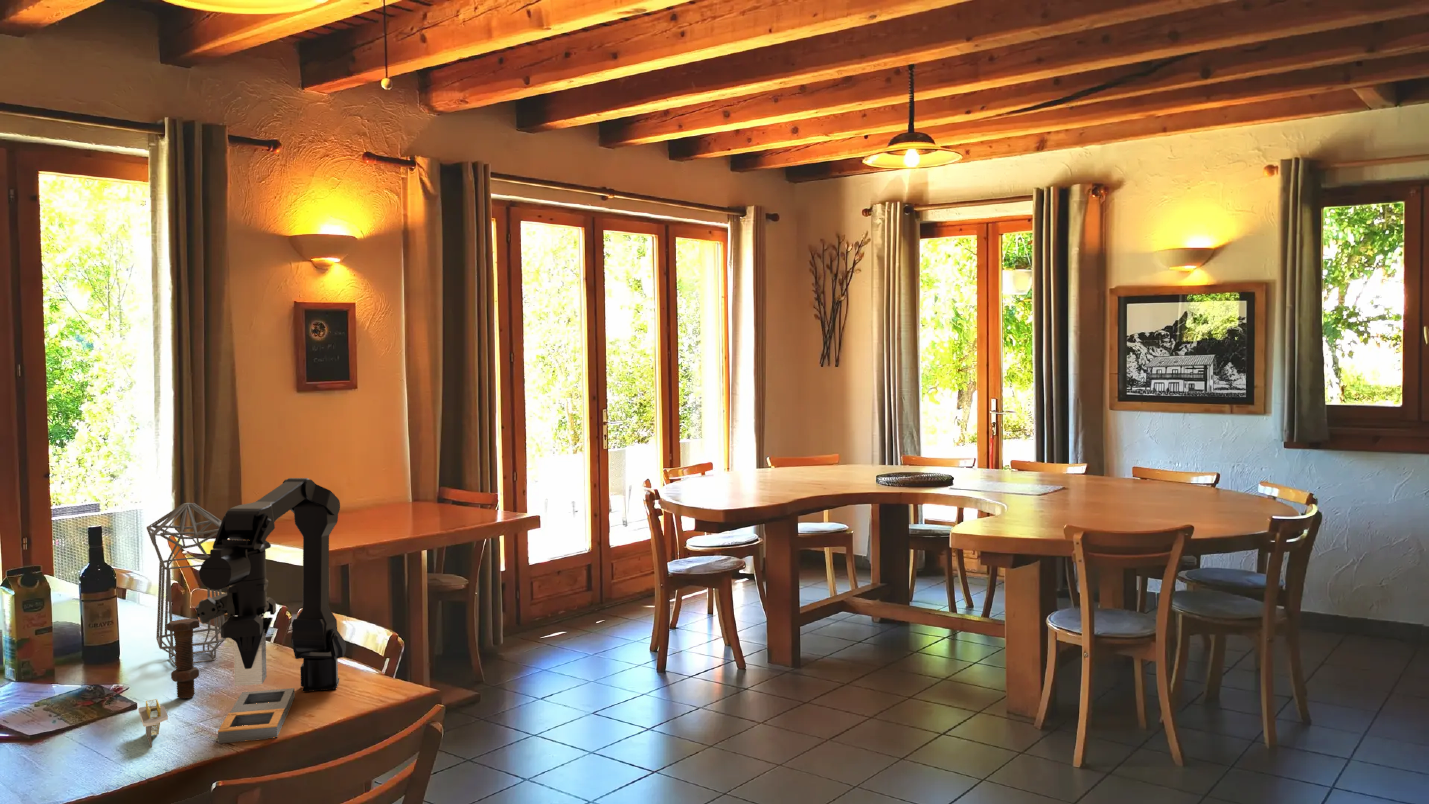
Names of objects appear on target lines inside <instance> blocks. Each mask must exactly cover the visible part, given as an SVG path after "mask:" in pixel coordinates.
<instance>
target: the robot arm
mask: <svg viewBox="0 0 1429 804" xmlns="http://www.w3.org/2000/svg"><path fill="white" fill-rule="evenodd" d="M282 481H283V482H282V484H281V483H280V484H279V486H277V487H276V488H273V489H272V490H271V491H270V492H268V493H267V494H265V495H264V496H262V497H261V498H259V499H257V500H255V501H254V502H250V503H243V504H239V505H236V506H233V507H230V508H229V509H228V510H227V511H226V512H225V513H224V516H223V517H222V520H221V521H222V522H221V525H220V528H219V527H218V529H219V530H218V533H217V535H215V539H214V542H213V544H212V549H210V553H209V554H210V555H209V556H210V557H209V558H205V560H203V562H202V563H201V564H200V565H201V566H200V569H199V571H198V572H199V573H198V574H199V575H198V576H199V580H200V581H201V583H202V584H203V585H204V586H205V587H206V589H207V588H209V589H210V590H211V589H212V590H214V591H215V590H218V591H219V589H221V590H223V589H224V588H226V589H227V590H226V592H224V593H222V594H221V595H219V594H218V596H215V597H213V598H212V596H210V597H208V598H205V599H201V600H199V602H198V604H197V605H196V606H195V612H196V613H195V617H197V618H199V621H200V622H201V624H202V625H204V624H206V623H207V624H208V622H209V621H210V622H211V620H214V618H216V617H217V618H218V617H219V616H220V617H221V615H224V616H225V615H226V617H228V618H227V619H226V620H224V623H223V625H222V624H221V634H220V639H222V638H226V639H230V640H233V642H234V641H235V642H236V643H237V646H238V648H239V651H240V655H241V658H242V661H243V664H244V667H245V669H251V668H252V666H253V663H254V660H255V657H256V654H257V652H258V649H259V646H260V643H261V640H262V638H263V635H264V633H266V635H267V634H268V632H269V629H270V627H271V623H272V622H273V617H271V615H275V614H276V613H277V602H276V600H274V599H273V598H272V597H269V596H267V595H268V594H267V590H268V589H267V588H268V587H269V579H267V561H266V559H267V557H266V556H267V554H266V550H267V549H270V548H271V547H272V545H271V543H270V542H268V541H267V538H268V537H269V536H270V534H271V533H272V532H273V531H274V530H275V528H276V526H275V522H276V521H277V520H279V518H281V517H282V516H283V515H285V514H286V513H288V512H289V511H291V512H292V513H293V515H294V517H293V518H294V525H295V526H296V528H297V530H298V531H299V532H300V534H301V536H302V539H303V541H302V544H303V545H302V610H301V611H300V612H299V614H298V616H297V617H296V618H294V619H293V620H292V622H291V630H292V631H291V637H290V638H291V639H290V641H291V642H290V643H291V645H292V650H293V655H294V659H296V660H299V659H301V660H302V659H303V660H302V661H303V662H302V663H301V666H300V687H301V690H302V691H308V692H316V691H315V690H320V691H330V690H329V689H333V690H336V688H337V689H338V686H339V684H340V683H339V682H340V677H339V664H338V663H339V662H338V659H341V658H344V657H345V654H346V651H347V642H346V641H345V639H344V638H343V636H342V635H341V633H340V632H339V630H338V620H337V618H336V617H335V615H334V613H333V612H332V610H331V609H330V606H329V592H330V591H329V589H330V588H329V586H330V585H329V582H330V581H329V579H330V576H329V574H330V572H329V571H330V562H329V561H330V535H331V533H332V531H333V530H334V528H335V527H336V525H337V524H338V520H339V513H340V510H341V501H340V499H339V498H338V497H337V496H336V495H335V493H334V492H332V491H331V490H330V489H328V488H326V487H323V486H321V485H318V484H317V483H315V481H313V480H312V479H310V478H308V477H289V478H287V479H284V480H282ZM266 613H270V617H265V615H266ZM313 690H314V691H313Z"/></svg>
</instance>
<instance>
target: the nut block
mask: <svg viewBox="0 0 1429 804" xmlns="http://www.w3.org/2000/svg"><path fill="white" fill-rule="evenodd" d="M266 636H267V634H266V633H264V635H263V638H262V640H261V643H260V646H259V649H258V652H257V654H256V657H255V660H254V663H253V666H252V668H251V669H245V667H244V664H243V661H242V658H241V655H240V651H239V648H238V646H237V643H236V642H235V641H234V640H233V661H234V662H233V665H234V666H233V667H234V668H233V669H234V670H233V672H234V674H233V675H234V687H241V686H242V687H243V686H254V685H257V686H258V685H263V683H265V680H266V679H267V644H266V643H267V642H266Z"/></svg>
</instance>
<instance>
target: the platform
mask: <svg viewBox="0 0 1429 804" xmlns="http://www.w3.org/2000/svg"><path fill="white" fill-rule="evenodd" d="M154 701H155V705H153V704H154ZM148 702H149V703H148ZM137 710H138V714H139V717H140V720H141V722H142V726H143V727H145V735H146V737H147V740H148V744H149V747H150V748H152V747H153V746H152V745H153V743H152V740H153V739H152V736H154V735H156V736H158V735H159V733H160V728H161V727H160V726H161V723H162V722H165V721H167V720H168V719H169V716H168V712H167V710H166V707H165V706H164V705H160V703H159V701H158V699H157V698H156V699H149V700H146V701H145V706H142V707H138V709H137ZM153 712H156V715H157V716H154V717H151V713H153Z"/></svg>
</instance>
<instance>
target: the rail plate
mask: <svg viewBox="0 0 1429 804" xmlns="http://www.w3.org/2000/svg"><path fill="white" fill-rule="evenodd" d="M295 697H296V695H295V687H291V688H290V687H289V688H281V689H280V688H279V689H278V688H277V689H266V690H253V691H242V692H241V693H240V695H239V696H238V699H237V700H236V701H235V703H234V705H233V707H232V709H230V712H228V713H227V715H226V717H225V718H224V720H223V722H222V723H221V725H220V727H219V728H218V730H217V743H218V744H226V743H237V742H238V741H240V742H246V741H245V740H251V741H259V740H269V739H268V738H272V739H274V738H273V737H277V736H278V737H279V735H280V733H279V732H281V730H282V728H283V726H284V723H285V722H286V721H285V720H286V719H285V718H287V717H286V716H288V714H289V712H290V710H289V709H291V708H290V707H292V705H293V703H294V701H295ZM293 700H294V701H293ZM268 702H269V703H268ZM292 702H293V703H292ZM256 703H257V704H256ZM288 711H289V712H288ZM242 725H243V726H242ZM244 725H248V726H244ZM282 725H283V726H282ZM236 726H237V727H236ZM278 734H279V735H278ZM278 737H277V738H278ZM236 741H237V742H236Z"/></svg>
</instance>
